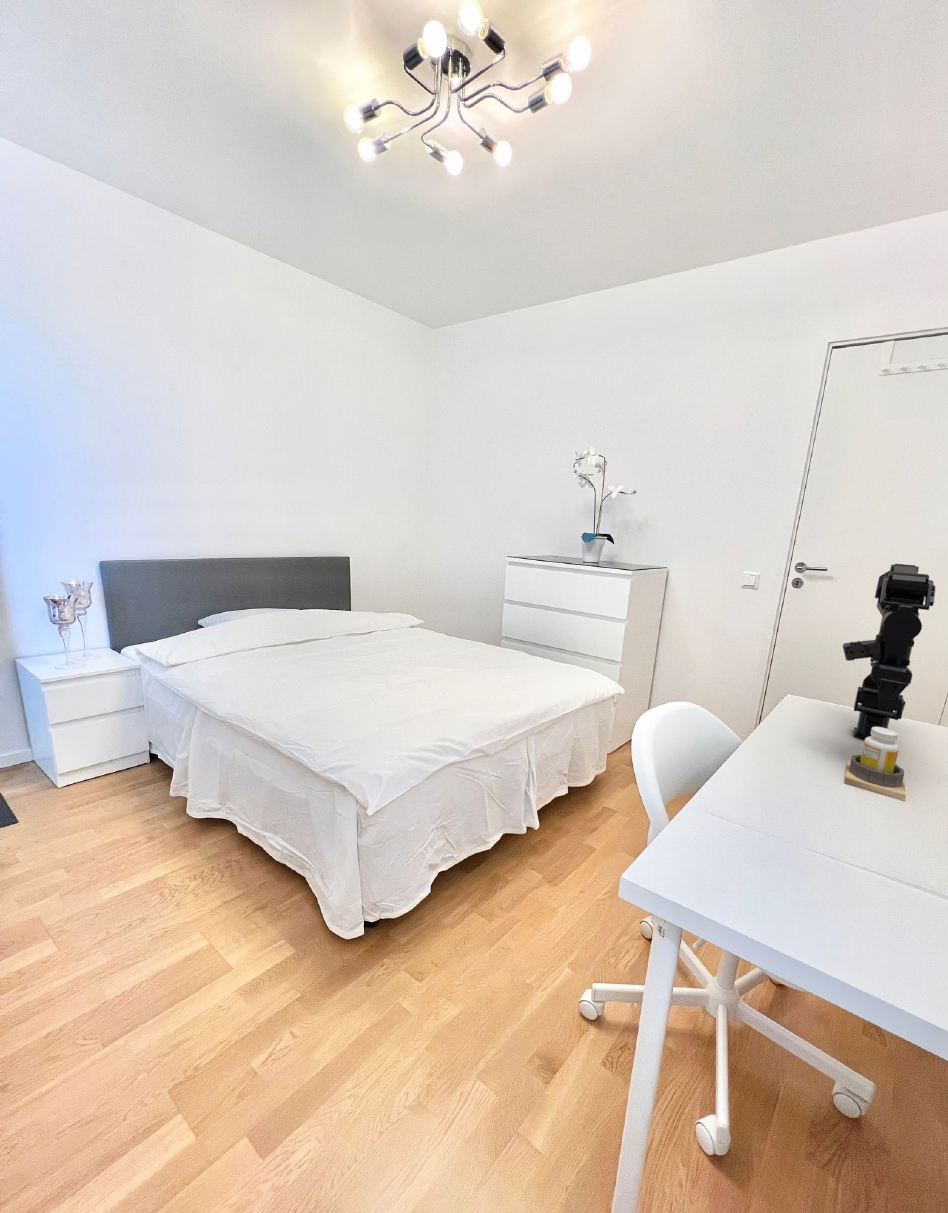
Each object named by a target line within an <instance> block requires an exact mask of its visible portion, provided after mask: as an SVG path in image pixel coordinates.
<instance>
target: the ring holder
mask: <svg viewBox="0 0 948 1213" xmlns="http://www.w3.org/2000/svg"><path fill="white" fill-rule="evenodd" d="M861 755H862V754H856V755H852V756H851V758H850V760H849V759H847V760H846V762H845V763H846V764H845V771H844V772H845V773H844V774H845V775H844V784H846V785H849V786H852V787H856V788H859V789H863V790H865V791H870V792H874V793H877V794H880V795H883V796H887V797H890V798H894V799H897V800H901V801H904V802H905V800H906V797H907V793H906V791H907V790H906V786H905V778H904V777H905V776H904V775H905V770H904V769H903V768H902V767H901V766H899V765H898V764H897V763H895V768H894V772H893V774H890V773H882V772H879V771H875V770H871V769H869V768H867V767H864V766H862V765H860V759H861Z"/></svg>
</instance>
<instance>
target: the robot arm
mask: <svg viewBox="0 0 948 1213" xmlns="http://www.w3.org/2000/svg"><path fill="white" fill-rule="evenodd" d="M919 567H920V566H916V565H915V564H903V563H901V564H900V563H894V564H891V565H890V568H889V570H888V571H886V572H884V573H883V574H881V575H879V577H878V581H877V585H876V590H875V595H874V599H877V603H876V609H877V610H878V611H879V613H880V615H881V620H880V621H881V622H880V626H879V631H878V634H876V635H875V639H871V640H870V639H868V640H861V641H860V640H857V641H850V642H846V643H843V644H842V648H843V653H844V657H845V660H846V661H849V662H850V661H855V660H859V659H869V658H870V661H869V662H870V667H871V670H870V673H869V674H867V676H866V677H865V678H863V681H862V683H861V686H858V687H857V692H856V695H855V701H854V705H853V712H859V715H858V721H857V726H855V727H853V737H855V738H858V739H862V740H865V739H866V738H867V737H869V736H871V729H872V727H883V728H887V729H889V723H890V720H894V721H898V720H902V716H903V712H904V709H905V706H906V701H905V700H904V695H902V693H903V691H904V690H905V689H906V688H907V687H908V686H909V685H911V683H912V679H913V673H912V670H911V669H910V668H909V667H910V664H911V660H910V658H911V654H912V651H913V650H912V649H913V647H914V645H915V638H916V637H917V636H919V634H920V633H921V631H922V629H923V628H922V627H923V624H922V620H921V619H920V618H919V616H920V612H919V611H920V610H923V611H924V610H925V611H929V610H930V607H933V606H934V603H935V596H936V595H935V594H936V586H935V584H934V581H933V580H932V579H930V575H929V574H928V573H927V574H926V573H925V574H924V573H919V569H920V568H919Z"/></svg>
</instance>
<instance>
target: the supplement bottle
mask: <svg viewBox="0 0 948 1213" xmlns="http://www.w3.org/2000/svg"><path fill="white" fill-rule="evenodd" d="M897 739H898V733H897V731H894V730H892V729H890V728H888V729H887V728H883V727H872V729H871V736H869V737H867V738H866V739H864V741H863V746H862V750H861V754H860V755H861V759H860V765H862V766H864V767H867V768H869V769H871V770H875V771H879V772H882V773H890V774H893V772H894V768H895V764H897V758H898V754H899V751H900V749H899V748H900V747H899V744H897V743H896V741H897Z"/></svg>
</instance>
